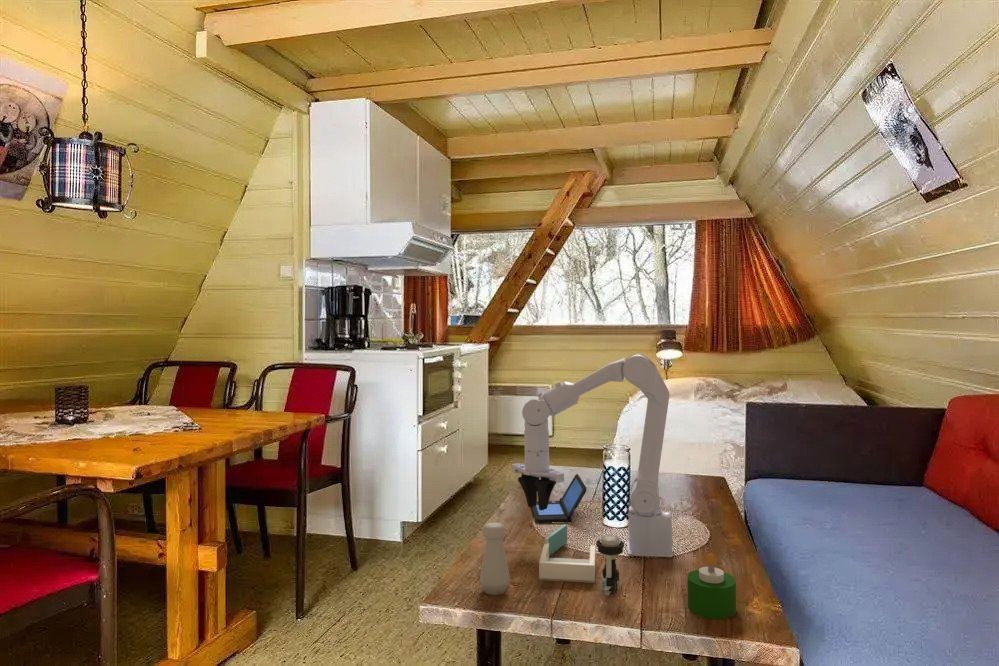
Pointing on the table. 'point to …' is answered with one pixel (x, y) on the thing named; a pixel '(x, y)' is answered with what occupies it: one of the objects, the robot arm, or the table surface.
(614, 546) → the push button
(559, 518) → the handheld game console
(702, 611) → the candle
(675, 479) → the table surface
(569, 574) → the bay
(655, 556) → the robot arm
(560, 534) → the gate
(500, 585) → the salt shaker
